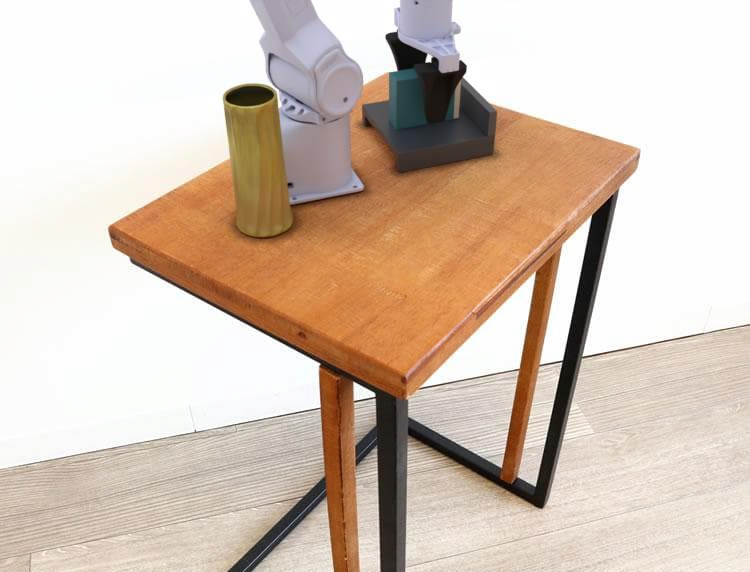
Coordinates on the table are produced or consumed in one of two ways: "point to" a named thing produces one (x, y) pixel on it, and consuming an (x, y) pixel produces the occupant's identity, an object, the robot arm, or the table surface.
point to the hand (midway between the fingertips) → (423, 107)
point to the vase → (257, 160)
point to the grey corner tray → (438, 133)
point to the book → (412, 100)
